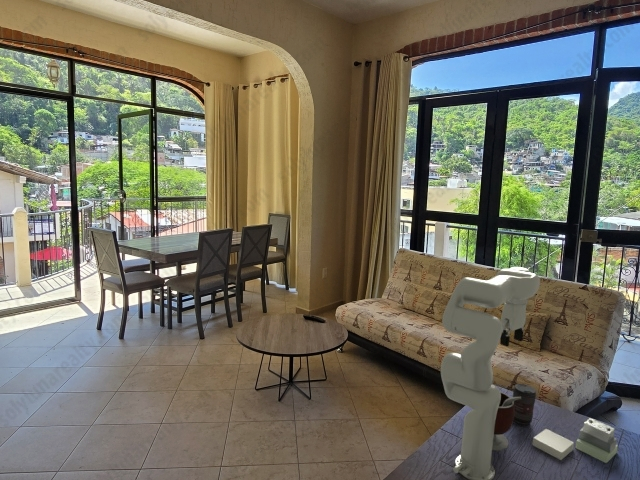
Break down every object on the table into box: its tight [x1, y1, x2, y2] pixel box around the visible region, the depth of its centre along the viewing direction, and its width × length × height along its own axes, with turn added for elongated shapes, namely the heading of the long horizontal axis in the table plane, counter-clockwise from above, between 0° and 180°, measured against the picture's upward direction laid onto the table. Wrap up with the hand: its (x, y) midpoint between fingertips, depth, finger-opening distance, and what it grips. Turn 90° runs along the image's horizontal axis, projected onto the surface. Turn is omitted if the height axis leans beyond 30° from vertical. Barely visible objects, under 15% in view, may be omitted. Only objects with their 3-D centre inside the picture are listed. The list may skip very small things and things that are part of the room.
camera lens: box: [512, 383, 537, 428], centre depth 166 cm, size 8×8×15 cm
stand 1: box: [532, 428, 575, 461], centre depth 151 cm, size 10×10×3 cm
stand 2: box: [575, 438, 619, 464], centre depth 150 cm, size 10×10×3 cm
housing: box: [578, 417, 618, 453], centre depth 150 cm, size 10×6×7 cm, turn 37°
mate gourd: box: [492, 391, 521, 452], centre depth 153 cm, size 16×14×20 cm
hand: (511, 342), depth 157 cm, fingers open, 9 cm apart
